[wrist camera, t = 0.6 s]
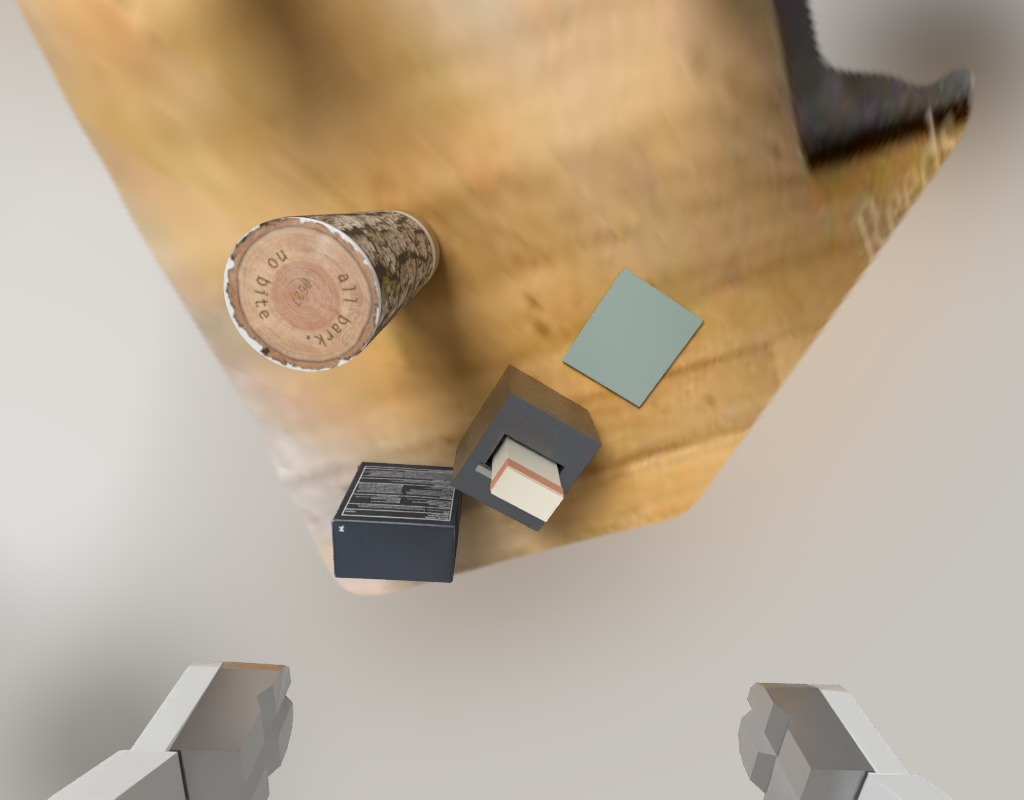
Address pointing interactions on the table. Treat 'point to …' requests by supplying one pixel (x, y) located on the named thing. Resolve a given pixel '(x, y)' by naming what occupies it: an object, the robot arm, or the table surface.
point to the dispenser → (524, 438)
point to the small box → (398, 524)
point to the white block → (525, 478)
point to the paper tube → (326, 282)
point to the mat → (632, 338)
